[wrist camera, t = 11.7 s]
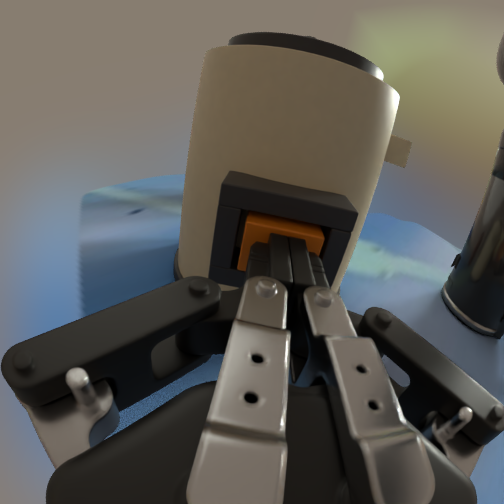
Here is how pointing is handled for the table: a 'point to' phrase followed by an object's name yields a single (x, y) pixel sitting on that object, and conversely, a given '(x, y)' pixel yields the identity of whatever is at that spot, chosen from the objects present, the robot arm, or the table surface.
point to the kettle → (283, 149)
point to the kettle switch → (265, 224)
